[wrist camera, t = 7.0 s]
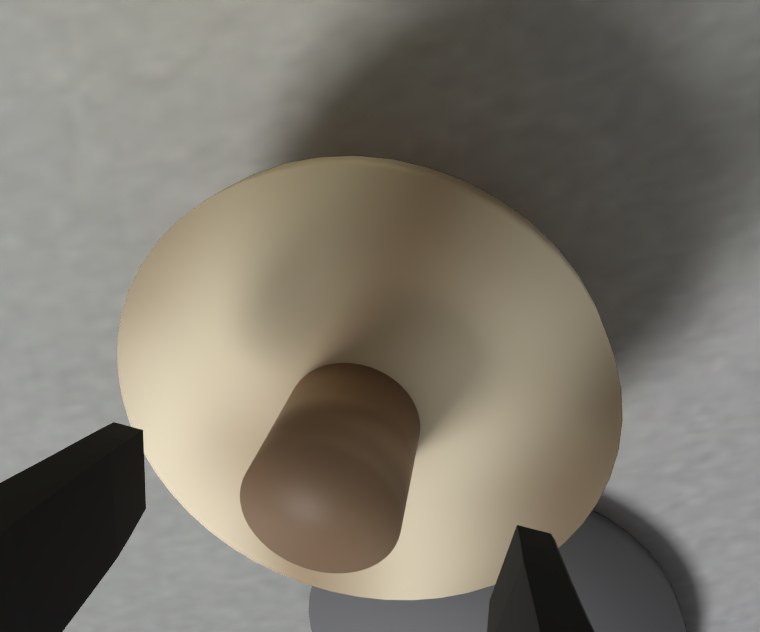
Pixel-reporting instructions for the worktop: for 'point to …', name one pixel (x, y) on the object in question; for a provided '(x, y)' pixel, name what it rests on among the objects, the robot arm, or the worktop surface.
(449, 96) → the worktop surface
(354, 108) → the worktop surface
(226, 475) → the lid
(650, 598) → the mat
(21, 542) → the robot arm
